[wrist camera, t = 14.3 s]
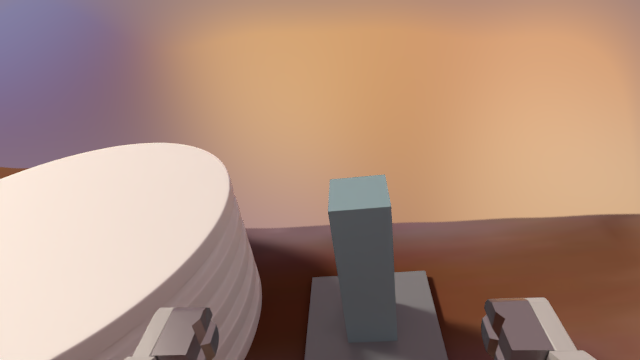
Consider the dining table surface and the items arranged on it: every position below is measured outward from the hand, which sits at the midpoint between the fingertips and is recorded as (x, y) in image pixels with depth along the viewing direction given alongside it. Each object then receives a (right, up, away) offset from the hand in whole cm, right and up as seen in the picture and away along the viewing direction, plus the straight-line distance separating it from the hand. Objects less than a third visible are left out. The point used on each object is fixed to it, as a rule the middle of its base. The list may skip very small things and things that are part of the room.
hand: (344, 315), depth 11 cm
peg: (+3, -7, +18) cm, 19 cm away
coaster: (+3, -7, +18) cm, 20 cm away
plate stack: (-20, -9, +22) cm, 31 cm away
